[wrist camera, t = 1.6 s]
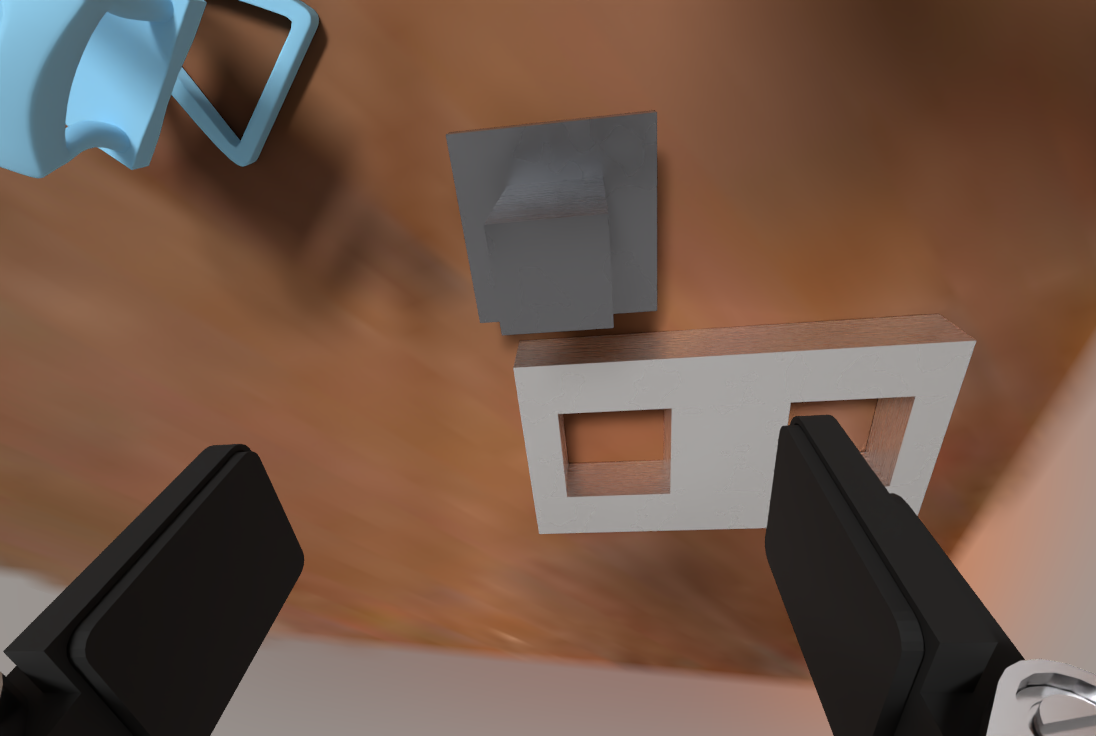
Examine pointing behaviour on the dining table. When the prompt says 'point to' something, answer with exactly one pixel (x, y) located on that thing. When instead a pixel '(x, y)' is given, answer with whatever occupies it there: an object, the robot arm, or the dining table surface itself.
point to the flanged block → (560, 220)
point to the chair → (119, 79)
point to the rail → (730, 414)
